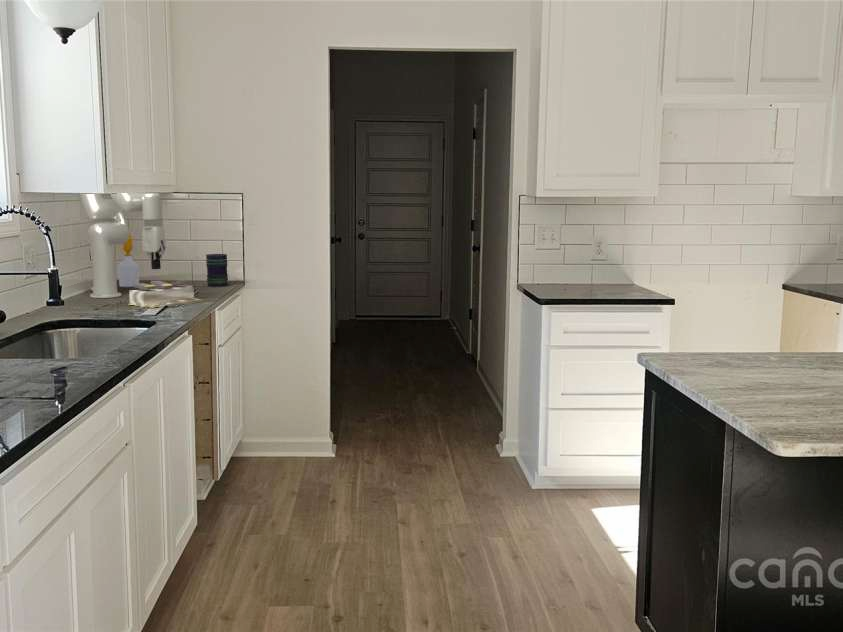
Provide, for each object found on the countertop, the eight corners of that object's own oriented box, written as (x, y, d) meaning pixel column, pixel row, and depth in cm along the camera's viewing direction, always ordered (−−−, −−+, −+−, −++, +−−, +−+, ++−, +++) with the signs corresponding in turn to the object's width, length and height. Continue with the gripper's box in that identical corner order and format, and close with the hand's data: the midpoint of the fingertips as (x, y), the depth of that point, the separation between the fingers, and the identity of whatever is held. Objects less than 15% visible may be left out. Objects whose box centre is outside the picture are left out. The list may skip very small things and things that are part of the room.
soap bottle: (138, 284, 415) (135, 233, 411) (140, 286, 407) (137, 234, 403) (118, 285, 411) (115, 234, 408) (120, 287, 403) (117, 235, 399)
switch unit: (128, 305, 343) (127, 290, 342) (180, 299, 362) (179, 284, 361) (151, 308, 334) (150, 293, 333) (203, 301, 353) (202, 287, 352)
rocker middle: (150, 284, 349) (150, 280, 349) (159, 283, 353) (159, 279, 352) (163, 289, 344) (164, 285, 344) (173, 288, 348) (173, 284, 347)
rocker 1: (133, 287, 343) (133, 283, 343) (142, 286, 347) (142, 282, 346) (146, 289, 338) (146, 286, 338) (156, 288, 341) (156, 285, 341)
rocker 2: (167, 285, 356) (166, 282, 356) (176, 284, 359) (175, 281, 359) (180, 283, 350) (180, 280, 350) (189, 282, 354) (188, 279, 353)
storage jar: (232, 285, 410) (231, 254, 408) (215, 287, 402) (214, 255, 400) (219, 284, 416) (218, 253, 414) (202, 286, 409) (201, 254, 407)
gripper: (134, 224, 349) (137, 269, 351) (156, 224, 339) (159, 270, 342) (150, 223, 354) (153, 267, 357) (172, 223, 345) (175, 268, 348)
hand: (156, 268), depth 349 cm, fingers closed
